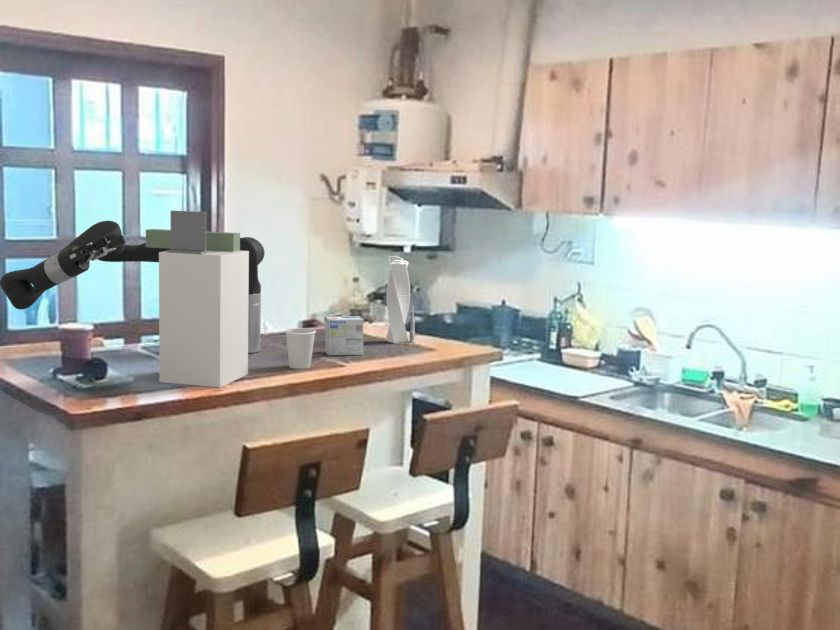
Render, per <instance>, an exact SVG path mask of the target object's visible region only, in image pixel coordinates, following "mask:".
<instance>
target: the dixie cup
mask: <svg viewBox="0 0 840 630" xmlns="http://www.w3.org/2000/svg"><path fill="white" fill-rule="evenodd" d="M284 333H285V339H286V348H287V356H288V366H289V368H291V369H295V370H296V369H298V370H302V369H303V370H305V369H309V368H311V365H312V358H313V357H312V356H313V348H314V343H315V335H316V333H317V331H316V330H315V329H314V328H305V327H303V328H302V327H298V328H295V327H294V328H287V329H285V330H284Z"/></svg>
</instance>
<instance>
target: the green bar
mask: <svg viewBox="0 0 840 630" xmlns="http://www.w3.org/2000/svg"><path fill="white" fill-rule="evenodd" d="M240 238H241V232H227V231H225V232H223V231H221V232H220V231H206V250H208V251H227V252H236V251H240ZM145 242H146V247H150V248H169V249H171V229H165V228H164V229H162V228H161V229H159V228H150V229H145Z"/></svg>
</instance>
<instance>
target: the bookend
mask: <svg viewBox="0 0 840 630" xmlns="http://www.w3.org/2000/svg"><path fill="white" fill-rule="evenodd" d="M170 230H171V250H167V253H184V254H206V232H207V211H194V210H193V211H187V210H170Z"/></svg>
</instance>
